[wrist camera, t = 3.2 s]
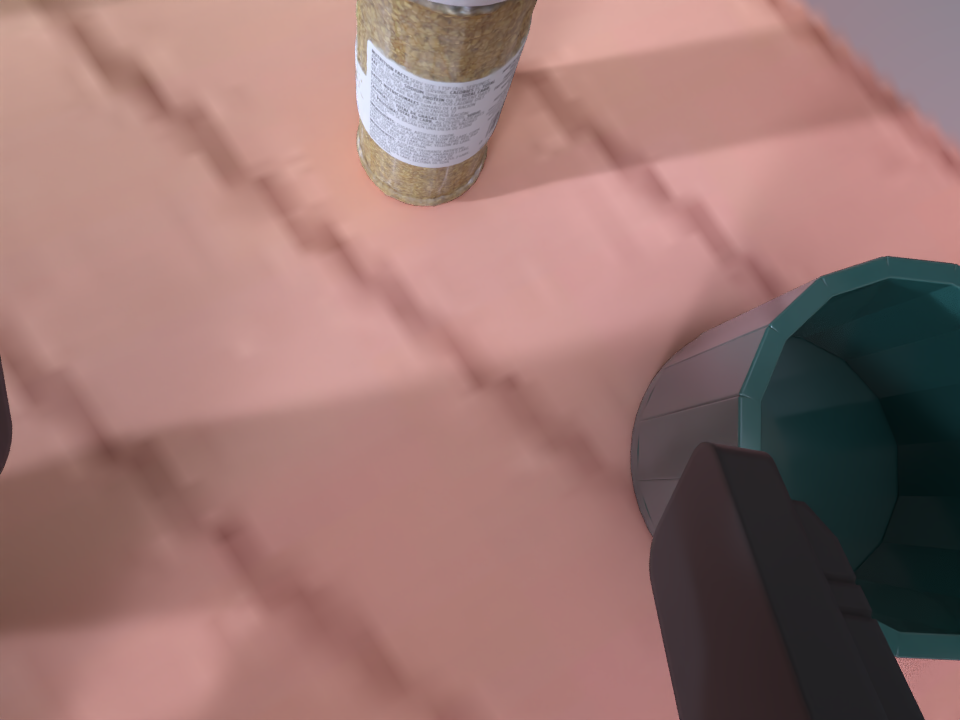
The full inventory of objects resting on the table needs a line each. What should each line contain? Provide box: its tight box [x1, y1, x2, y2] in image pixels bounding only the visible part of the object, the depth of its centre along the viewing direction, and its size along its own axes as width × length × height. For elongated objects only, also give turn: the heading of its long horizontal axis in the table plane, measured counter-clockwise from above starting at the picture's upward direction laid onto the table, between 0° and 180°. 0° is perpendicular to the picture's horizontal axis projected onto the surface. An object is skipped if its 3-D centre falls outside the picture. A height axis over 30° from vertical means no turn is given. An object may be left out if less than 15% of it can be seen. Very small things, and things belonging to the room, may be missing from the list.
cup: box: [631, 256, 960, 661], centre depth 23 cm, size 10×10×8 cm
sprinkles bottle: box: [355, 0, 537, 206], centre depth 21 cm, size 5×5×14 cm
